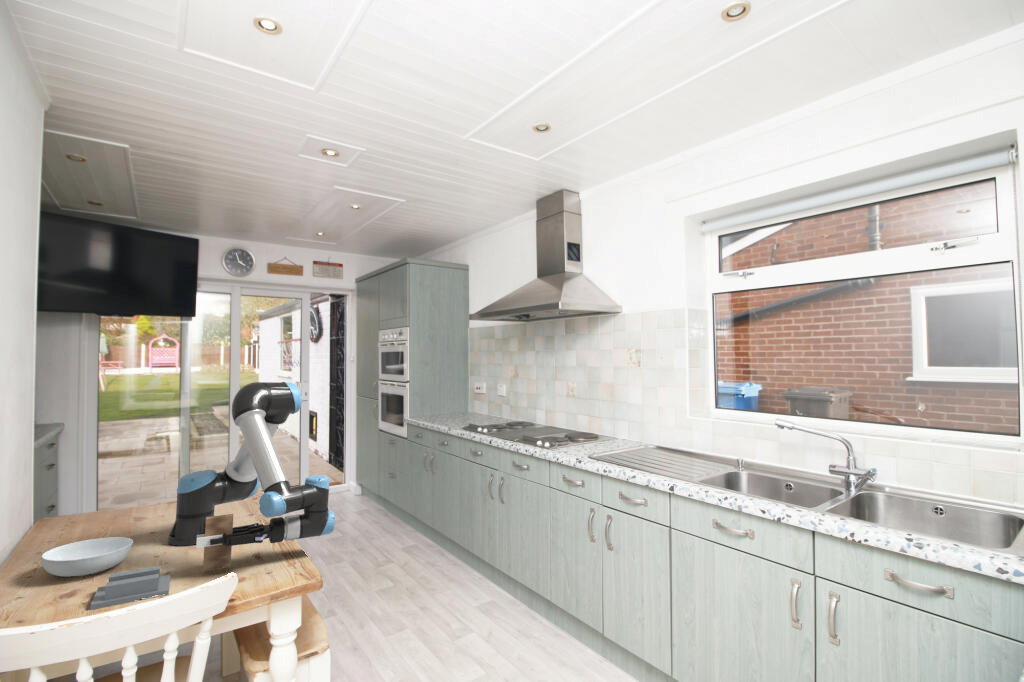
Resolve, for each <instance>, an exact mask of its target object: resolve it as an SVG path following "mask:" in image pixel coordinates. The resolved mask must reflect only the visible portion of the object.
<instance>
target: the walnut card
mask: <svg viewBox="0 0 1024 682" xmlns="http://www.w3.org/2000/svg"><path fill="white" fill-rule="evenodd" d="M233 528H234V514H233V513H229V514H221V515H214V516H212V517H206V527H205V537H208V536H215V535H222V534H223V533H226V535H230V534H232V532H233ZM232 547H233V546H226V545H223V543H222V545H215V546H208V547H203V561H202V571H203V572H206V571H212V570H219V569H225V568H230V567H231V563H232V562H231V561H232Z"/></svg>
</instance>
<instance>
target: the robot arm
mask: <svg viewBox="0 0 1024 682" xmlns="http://www.w3.org/2000/svg"><path fill="white" fill-rule="evenodd" d="M302 402H303V397H302V392H301V390H300V388H299V386H298V385H296V384H295V383H294V382H287V381H282V382H271V381H270V382H269V381H268V382H265V381H264V382H261V381H256V382H251V383H246V384H245V385H244V386H243V387H241V388H240V389H239V390H238V391H237V392H236V394H235V395H234V398H233V400H232V404H231V415H232V416H231V417H232V419H233V423H234V425H235V426H236V427H239V428H240V432H241V434H242V436H243V441H242V444H241V445H240V447H239V449H238V451H237V454H236V456H235V458H234V460H232V461H230V462H228V463H227V464H226V466H225V468H224V470H223V471H221V472H217V471H216V470H214V469H204V470H198V471H193V472H190V473H187V474H185V475H183V476H182V477H180V478H179V479H178V484H177V489H176V492H177V493H176V508H175V509H176V511H175V513H176V514H175V521H174V523H173V525H172V527H171V530H170V532H169V535H168V542H169V543H170V544H172V545H171V546H175V545H177V546H179V547H182V546H183V547H184V546H186V545H187V546H194V544H195V546H196V547H195V548H196V549H201V548H202V549H203V548H204V547H208V546H215V545H222V543H223V545H226V546H232V547H233V546H242V545H248V544H262V543H263V542H264V540H266V539H269V543H270V544H275V543H282V542H283V541H286V542H289V541H291V542H295V540H300V539H307V538H314V537H321V536H325V535H331V534H332V533H333V532H334V530H335V527H336V516H335V513H334V511H333V510H330V509H329V495H330V479H329V477H328V476H327V475H321V474H319V475H310V476H307V477H306V478H305V480H304V481H305V482H304V484H302V485H297V486H293V487H292V486H291V484H290V482H289V479H288V477H287V474H286V471H285V469H284V466H283V464H282V461H281V458H280V455H279V453H278V450H277V448H276V446H275V442H274V440H273V437H274V436H275V434H276V431H277V430H278V428H279V426H280V425H282V424H284V423H286V422H287V420H288V418H289V416H290V415H294V414H296V413H298V412H299V411H300V410H301V407H302ZM260 486H261V488H262V491H263V494H262V495H261V496H260V498H259V502H258V504H259V508H258V509H259V511H260V513H261V515H262V516H264V517H266V518H270V520H269V524H263V523H261V524H259V522H256V523H253V524H246V525H242V526H233V532H232V534H230V535H226V533H223V534H222V535H215V536H208V537H205V527H206V517H212V516H215V506H218V505H223V504H228V503H229V504H230V503H234V502H239V501H243V500H246V499H249V498H252V497H254V495H256V493H257V492H258V490H259V488H260ZM301 510H303V513H301V514H294V515H286V514H290V513H292V512H297V511H301ZM283 515H286V516H284V517H283ZM169 543H168V544H169ZM170 544H169V545H170ZM177 546H176V547H177Z"/></svg>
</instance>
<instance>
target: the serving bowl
mask: <svg viewBox="0 0 1024 682" xmlns="http://www.w3.org/2000/svg"><path fill="white" fill-rule="evenodd" d="M133 545H134V540H133V539H132V538H131V537H130V538H129V537H126V536H125V537H123V536H113V537H112V536H109V537H99V538H90V539H86V540H80V541H74V542H71V543H67V544H64V545H63V544H62V545H60V546H57V547H53V548H51V549H48V550H47V551H45V552H44V553H43V554H41V564H42V567H43V569H44V570H45V571H46V572H47V573H49V574H51V575H53V576H55V577H71V576H79V577H86V576H90V575H89V574H91V575H95V574H98V573H101V572H103V571H106V570H107V569H110V568H113V567H115V566H117V565H118V564H120V563H121V562H123V561H124V560H125V559H126V558H127V557H128V556H129V555H130V553H131V552H132V548H133ZM100 571H101V572H100ZM97 572H98V573H97ZM94 573H95V574H94ZM85 575H86V576H85Z"/></svg>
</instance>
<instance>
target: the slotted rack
mask: <svg viewBox="0 0 1024 682" xmlns="http://www.w3.org/2000/svg"><path fill="white" fill-rule="evenodd" d="M160 574H161V565H156V566H151V567H145V568H138V569H132V570H125V571H120V572H115V573H114V572H113V573H110V574H109V577H108V582H106V583H105V584H106V585H104V586H99V587H97V589H96V592H95V593H94V596H93V599H92V600H91V603H90V606H89V610H96V609H97V610H98V609H101V608H108V607H113V606H118V605H122V604H128V603H133V602H136V601H135V600H139V599H142V598H149V597H152V596H155V595H163V594H165V595H164V596H168V595H170V594H169V593H170V583H171V574H167V575H166V574H165V575H160ZM149 599H150V598H149ZM139 601H140V600H139ZM112 605H113V606H112Z"/></svg>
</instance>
